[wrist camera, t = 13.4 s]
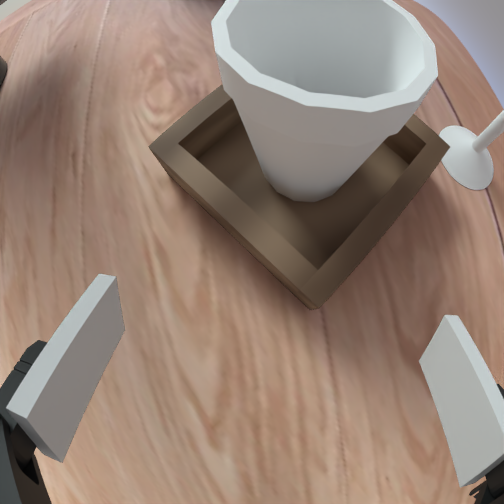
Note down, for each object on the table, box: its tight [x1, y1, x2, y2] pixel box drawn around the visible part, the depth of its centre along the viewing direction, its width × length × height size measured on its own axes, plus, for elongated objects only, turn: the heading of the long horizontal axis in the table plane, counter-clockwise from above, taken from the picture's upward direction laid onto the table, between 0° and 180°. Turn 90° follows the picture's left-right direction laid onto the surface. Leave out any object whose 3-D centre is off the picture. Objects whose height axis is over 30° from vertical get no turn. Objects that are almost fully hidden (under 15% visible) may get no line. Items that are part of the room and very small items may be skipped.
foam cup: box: [211, 0, 438, 202], centre depth 16 cm, size 10×9×13 cm
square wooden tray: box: [149, 84, 450, 310], centre depth 22 cm, size 15×15×4 cm
